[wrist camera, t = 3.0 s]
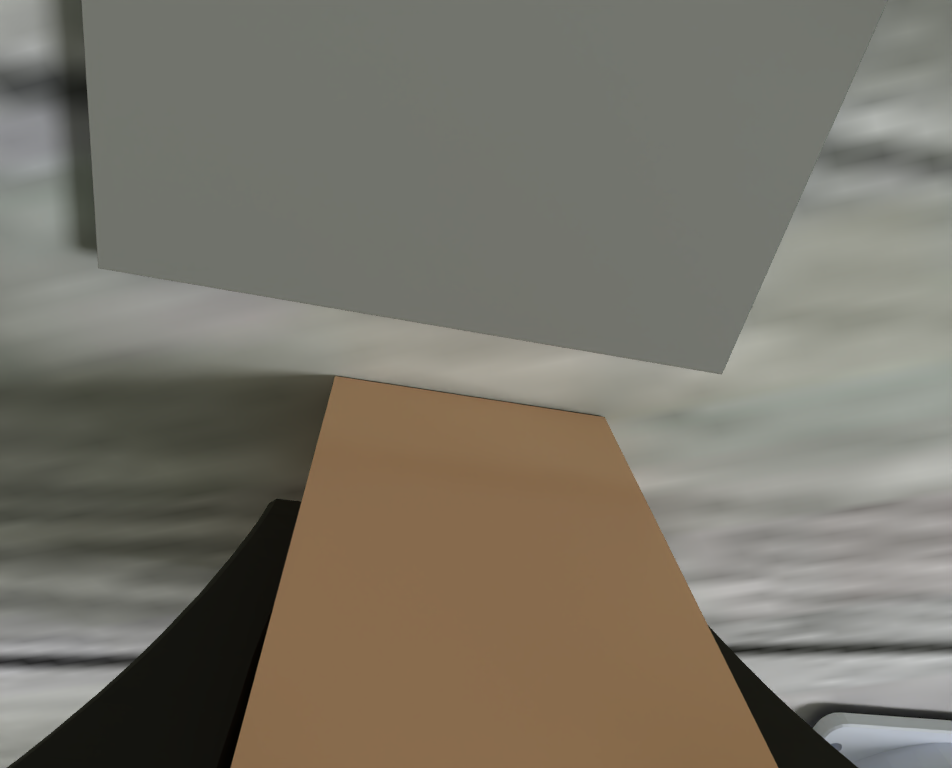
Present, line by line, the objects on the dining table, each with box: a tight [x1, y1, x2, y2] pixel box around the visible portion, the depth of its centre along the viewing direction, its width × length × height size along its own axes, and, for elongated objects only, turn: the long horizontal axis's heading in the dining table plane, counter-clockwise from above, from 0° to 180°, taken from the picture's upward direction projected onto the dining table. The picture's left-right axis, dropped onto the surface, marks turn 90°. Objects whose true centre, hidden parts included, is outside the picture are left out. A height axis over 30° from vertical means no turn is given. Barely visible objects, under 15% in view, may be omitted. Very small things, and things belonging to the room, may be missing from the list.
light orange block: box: [231, 376, 778, 768], centre depth 9 cm, size 5×5×7 cm
